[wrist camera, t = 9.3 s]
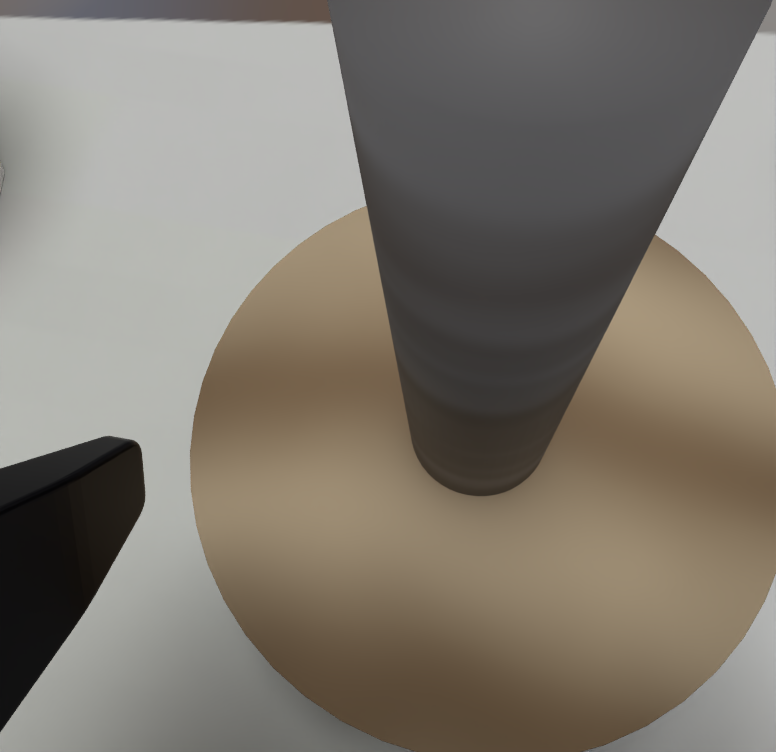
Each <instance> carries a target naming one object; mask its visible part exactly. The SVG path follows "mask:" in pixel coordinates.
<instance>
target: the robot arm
mask: <svg viewBox="0 0 776 752" xmlns="http://www.w3.org/2000/svg"><path fill="white" fill-rule="evenodd" d="M144 502H145V484H144V472H143V461H142V452H141V448H140V446H139V444H138V443H137V442H136V441H134V440H130V439H124V438H118V437H113V436H105V437H101V438H98V439H94V440H91V441H88V442H85V443H82V444H78V445H75V446H72V447H69V448H65V449H62V450H59V451H56V452H52V453H49V454H46V455H43V456H40V457H36V458H33V459H30V460H27V461H23V462H20V463H17V464H14V465H11V466H7V467H4V468H1V469H0V732H1V730H2V729H3V728H4V726H5V725H6V723H7V722H8V721H9V719H10V718H11V716H12V715H13V713H14V712H15V711H16V709H17V708H18V706H19V705H20V704H21V702H22V701H23V699H24V698H25V697H26V695H27V694H28V692H29V691H30V689H31V688H32V687H33V685H34V684H35V682H36V681H37V680H38V678H39V677H40V675H41V674H42V673H43V671H44V670H45V668H46V667H47V665H48V664H49V663H50V661H51V660H52V658H53V657H54V656H55V654H56V653H57V651H58V650H59V649H60V647H61V646H62V644H63V643H64V641H65V640H66V639H67V637H68V636H69V634H70V633H71V632H72V630H73V629H74V627H75V626H76V624H77V623H78V621H79V620H80V618H81V617H82V615H83V614H84V612H85V611H86V609H87V608H88V606H89V604H90V603H91V601H92V599H93V598H94V596H95V595H96V593H97V591H98V589H99V587H100V586H101V584H102V582H103V580H104V578H105V577H106V575H107V573H108V571H109V570H110V568H111V566H112V564H113V562H114V561H115V559H116V557H117V555H118V554H119V552H120V550H121V548H122V546H123V545H124V543H125V541H126V539H127V538H128V536H129V534H130V532H131V530H132V529H133V527H134V525H135V523H136V521H137V520H138V518H139V516H140V514H141V512H142V509H143V507H144Z"/></svg>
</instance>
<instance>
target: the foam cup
mask: <svg viewBox="0 0 776 752" xmlns="http://www.w3.org/2000/svg"><path fill="white" fill-rule="evenodd" d="M3 178H4V170H3V167H2V165H1V162H0V193H1V188H2V183H3Z"/></svg>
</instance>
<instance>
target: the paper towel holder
mask: <svg viewBox="0 0 776 752" xmlns="http://www.w3.org/2000/svg"><path fill="white" fill-rule="evenodd" d="M771 2H772V0H328V6H329V11H330V16H331V21H332V27H333V32H334V37H335V42H336V48H337V53H338V58H339V63H340V68H341V74H342V79H343V84H344V89H345V95H346V100H347V105H348V110H349V116H350V121H351V126H352V131H353V136H354V142H355V147H356V152H357V157H358V163H359V168H360V173H361V178H362V184H363V189H364V194H365V199H366V205H367V206H366V207H363V208H360V209H358V210H355V211H353V212H352V213H350V214H348V215H346V216H344V217H342V218H340V219H338V220H336V221H335V222H333V223H331V224H329V225H327V226H325V227H324V228H322V229H321V230H319V231H318V232H317V233H315V234H314V235H312V236H311V237H309V238H308V239H306V240H305V241H303V242H302V243H300V244H299V245H298V246H297V247H295V248H294V249H293V250H292V251H291V252H290V253H289V254H287V255H286V256H285V257H284V258H283V259H282V260H281V261H279V262H278V263H277V264H276V265H275V266H274V267H273V268H272V269H271V270H270V271H269V272H268V273H267V274H266V275H265V277H264V278H263V279H262V280H261V281H260V282H259V283H258V284H257V285H256V286H255V288H254V289H253V290H252V291H251V292H250V294H249V295H248V296H247V298H246V299H245V301H244V302H243V303H242V305H241V306H240V308H239V309H238V311H237V312H236V313H235V315H234V316H233V318H232V319H231V321H230V323H229V325H228V326H227V328H226V330H225V332H224V334H223V336H222V338H221V339H220V341H219V343H218V345H217V347H216V349H215V351H214V354H213V356H212V359H211V361H210V364H209V367H208V369H207V372H206V374H205V377H204V380H203V382H202V386H201V390H200V395H199V399H198V403H197V407H196V411H195V415H194V422H193V431H192V440H191V449H190V470H191V493H192V500H193V506H194V513H195V519H196V526H197V529H198V533H199V536H200V540H201V543H202V546H203V550H204V553H205V557H206V560H207V563H208V566H209V568H210V570H211V572H212V575H213V577H214V579H215V581H216V584H217V586H218V588H219V590H220V592H221V595H222V597H223V599H224V601H225V603H226V604H227V606H228V607H229V609H230V611H231V612H232V614H233V615H234V617H235V619H236V620H237V622H238V623H239V625H240V627H241V628H242V630H243V631H244V633H245V635H246V636H247V637H248V638H249V639H250V641H251V642H252V643H253V644H254V645H255V647H256V648H257V649H258V650H259V651H260V653H261V654H262V655H263V656H264V657H265V659H266V660H267V661H268V662H269V663H270V665H271V666H272V667H273V668H274V669H275V670H276V671H277V672H279V673H280V674H281V675H282V676H283V677H284V678H285V679H286V680H287V681H289V682H290V683H291V684H292V685H293V686H294V687H295V688H296V689H297V690H298V691H300V692H301V693H302V694H303V695H304V696H305V697H307V698H308V699H310V700H311V701H313V702H314V703H316V704H317V705H318V706H320V707H321V708H323V709H324V710H326V711H327V712H329V713H330V714H332V715H333V716H335V717H336V718H338V719H339V720H341V721H342V722H344V723H347V724H349V725H351V726H353V727H355V728H357V729H359V730H361V731H363V732H365V733H367V734H369V735H371V736H373V737H375V738H377V739H379V740H381V741H384V742H388V743H391V744H394V745H397V746H400V747H403V748H406V749H409V750H412V751H416V752H582V751H585V750H589V749H592V748H596V747H599V746H603V745H606V744H608V743H610V742H612V741H615V740H617V739H619V738H621V737H623V736H626V735H628V734H630V733H632V732H634V731H636V730H639V729H641V728H643V727H645V726H647V725H649V724H650V723H652V722H653V721H655V720H656V719H658V718H659V717H661V716H662V715H664V714H665V713H667V712H668V711H670V710H671V709H673V708H674V707H676V706H677V705H679V704H680V703H682V702H683V701H685V700H686V699H687V698H688V697H689V696H690V695H691V694H692V693H694V692H695V691H696V690H697V689H698V688H699V687H700V686H701V685H702V684H703V683H705V682H706V681H707V680H708V679H709V678H710V677H711V676H712V675H713V674H714V673H716V672H717V670H718V669H719V668H720V667H721V665H722V664H723V663H724V662H725V660H726V659H727V658H728V657H729V655H730V654H731V653H732V652H733V651H734V649H735V648H736V647H737V646H738V644H739V643H740V642H741V641H742V639H743V638H744V637H745V635H746V633H747V631H748V630H749V628H750V626H751V624H752V623H753V621H754V619H755V617H756V616H757V614H758V612H759V611H760V609H761V607H762V605H763V604H764V602H765V600H766V597H767V595H768V592H769V589H770V587H771V584H772V582H773V579H774V577H775V574H776V388H775V385H774V382H773V379H772V376H771V374H770V371H769V368H768V366H767V364H766V362H765V360H764V358H763V356H762V354H761V352H760V350H759V348H758V347H757V345H756V343H755V341H754V339H753V337H752V335H751V333H750V332H749V330H748V329H747V327H746V326H745V324H744V323H743V321H742V320H741V319H740V317H739V316H738V314H737V313H736V311H735V310H734V308H733V307H732V305H731V304H730V303H729V301H728V300H727V299H726V298H725V297H724V296H723V295H722V293H721V292H720V291H719V290H718V289H717V288H716V287H715V286H714V284H713V283H712V282H711V281H710V280H709V279H708V278H707V276H706V275H705V274H703V273H702V272H701V271H700V270H699V269H698V268H697V267H696V266H694V265H693V264H692V263H691V262H690V261H689V260H688V259H687V258H686V257H684V256H683V255H682V254H681V253H680V252H679V251H677V250H676V249H675V248H673V247H672V246H670V245H669V244H668V243H666V242H665V241H663V240H662V239H660V238H659V237H658V236H656V235H655V233H656V231H657V229H658V227H659V226H660V224H661V222H662V220H663V218H664V216H665V214H666V212H667V210H668V208H669V206H670V204H671V202H672V200H673V198H674V196H675V194H676V192H677V190H678V188H679V186H680V184H681V182H682V180H683V178H684V176H685V174H686V172H687V170H688V168H689V166H690V164H691V162H692V160H693V158H694V156H695V154H696V152H697V150H698V148H699V146H700V144H701V142H702V140H703V138H704V136H705V134H706V132H707V130H708V128H709V126H710V124H711V122H712V120H713V118H714V117H715V115H716V113H717V111H718V109H719V107H720V105H721V103H722V101H723V99H724V97H725V95H726V93H727V91H728V89H729V87H730V85H731V83H732V81H733V79H734V77H735V75H736V73H737V71H738V69H739V67H740V65H741V63H742V61H743V59H744V57H745V55H746V53H747V51H748V49H749V47H750V45H751V43H752V41H753V39H754V37H755V35H756V33H757V31H758V29H759V27H760V25H761V23H762V21H763V19H764V17H765V15H766V13H767V11H768V9H769V7H770V6H771Z"/></svg>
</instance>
